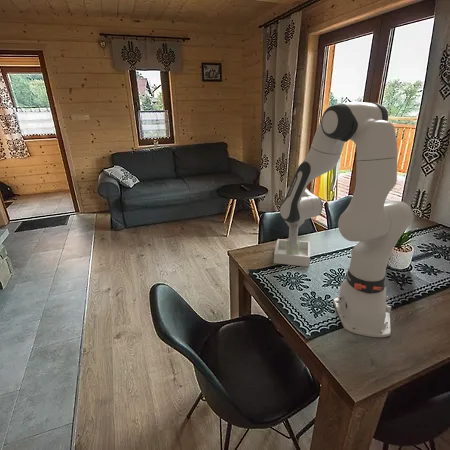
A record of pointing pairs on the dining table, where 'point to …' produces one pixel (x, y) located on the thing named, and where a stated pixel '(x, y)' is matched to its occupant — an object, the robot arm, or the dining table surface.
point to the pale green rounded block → (295, 252)
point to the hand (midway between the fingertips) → (293, 244)
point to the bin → (292, 259)
